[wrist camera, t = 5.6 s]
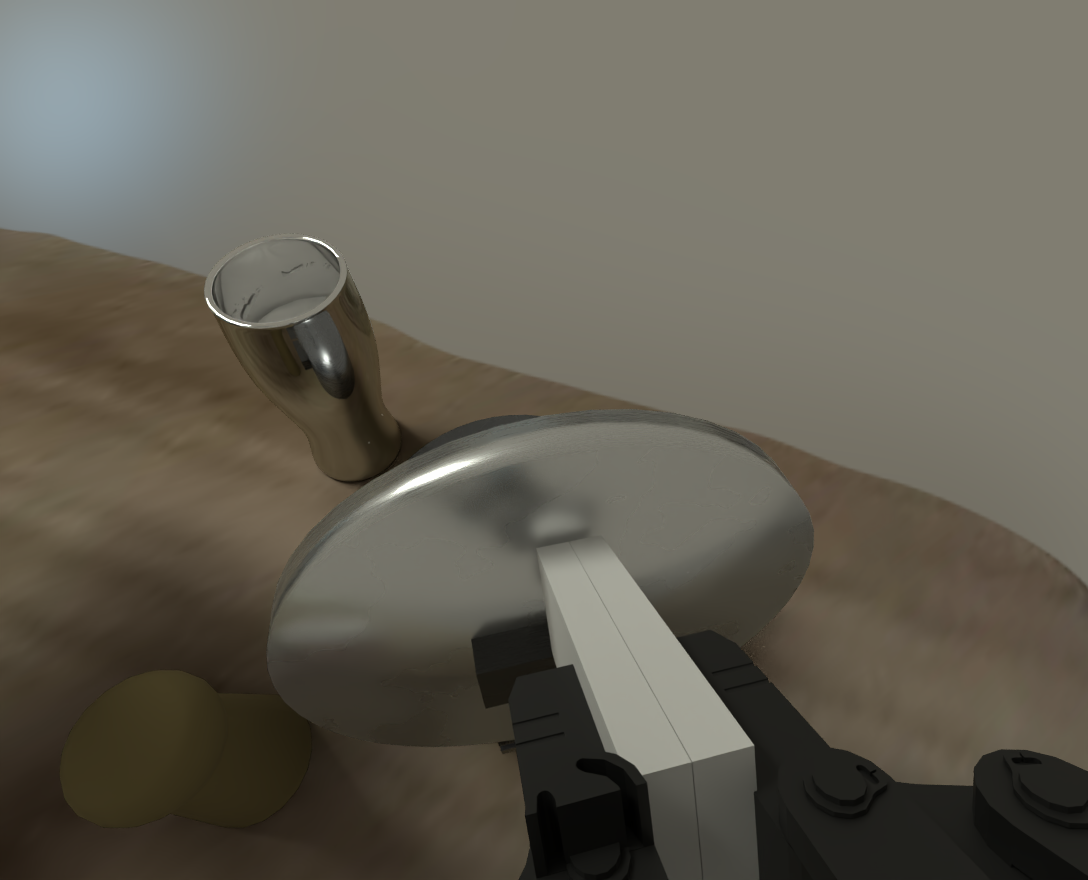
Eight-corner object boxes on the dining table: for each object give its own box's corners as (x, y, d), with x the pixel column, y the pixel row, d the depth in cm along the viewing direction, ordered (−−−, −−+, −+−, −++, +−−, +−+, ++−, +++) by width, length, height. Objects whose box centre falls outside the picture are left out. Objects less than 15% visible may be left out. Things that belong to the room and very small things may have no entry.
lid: (728, 660, 24) (753, 712, 23) (363, 751, 22) (363, 816, 20) (873, 358, 13) (942, 420, 11) (146, 484, 11) (109, 584, 9)
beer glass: (296, 488, 37) (176, 329, 24) (318, 403, 41) (224, 228, 28) (401, 488, 37) (335, 332, 25) (414, 404, 41) (362, 231, 28)
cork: (329, 704, 30) (240, 665, 21) (283, 839, 27) (154, 865, 18) (224, 684, 30) (91, 637, 21) (166, 814, 27) (-21, 827, 18)
